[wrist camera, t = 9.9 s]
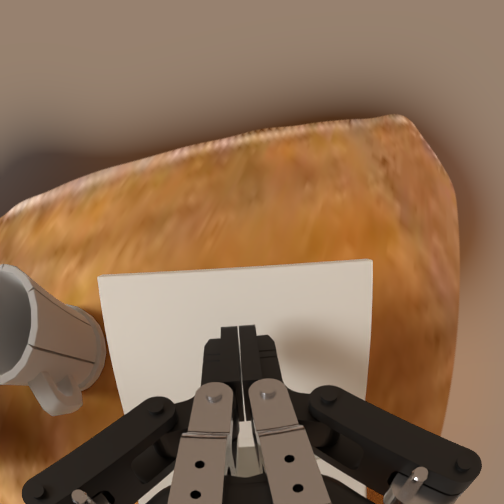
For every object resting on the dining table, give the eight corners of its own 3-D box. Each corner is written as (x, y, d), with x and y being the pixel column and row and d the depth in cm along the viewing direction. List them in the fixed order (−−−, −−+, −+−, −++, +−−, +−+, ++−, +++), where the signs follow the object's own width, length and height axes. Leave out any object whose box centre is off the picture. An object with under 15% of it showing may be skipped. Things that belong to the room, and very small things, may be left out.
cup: (134, 330, 29) (75, 291, 18) (107, 417, 25) (34, 423, 14) (53, 296, 30) (-16, 250, 19) (27, 373, 26) (-52, 354, 15)
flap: (362, 423, 17) (372, 260, 16) (131, 437, 16) (97, 277, 15) (358, 416, 18) (366, 258, 17) (134, 430, 17) (103, 274, 16)
